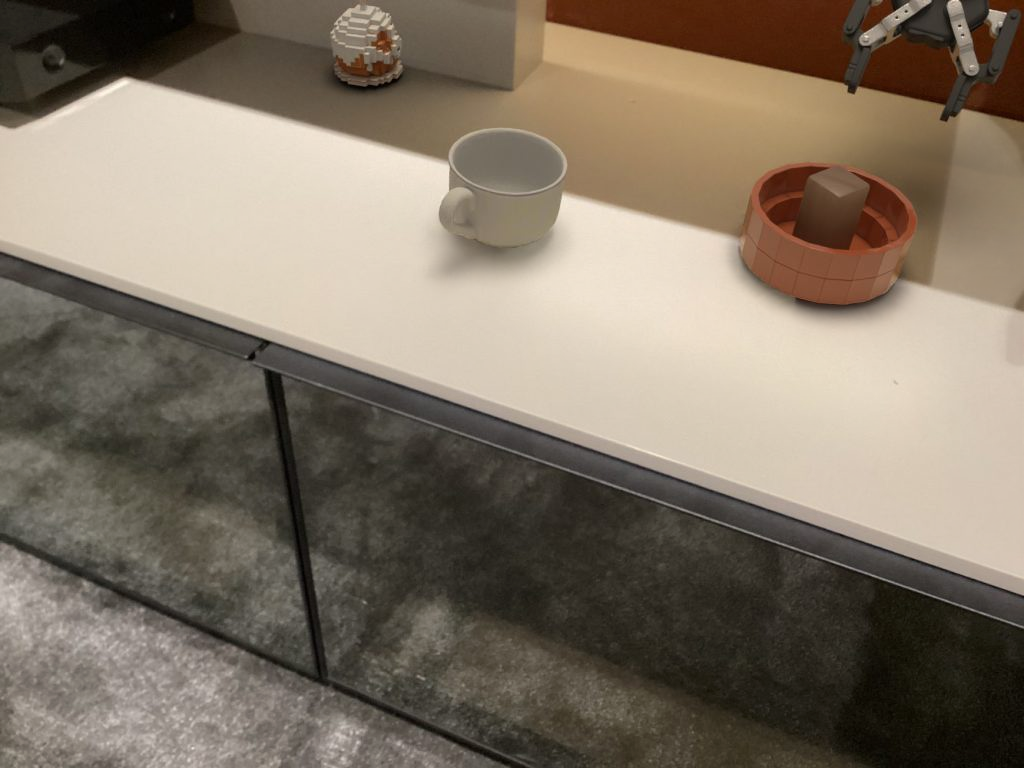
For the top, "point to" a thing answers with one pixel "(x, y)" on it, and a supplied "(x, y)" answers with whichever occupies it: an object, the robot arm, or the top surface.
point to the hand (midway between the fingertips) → (897, 104)
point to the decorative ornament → (366, 46)
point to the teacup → (503, 187)
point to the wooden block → (831, 208)
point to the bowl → (819, 267)
